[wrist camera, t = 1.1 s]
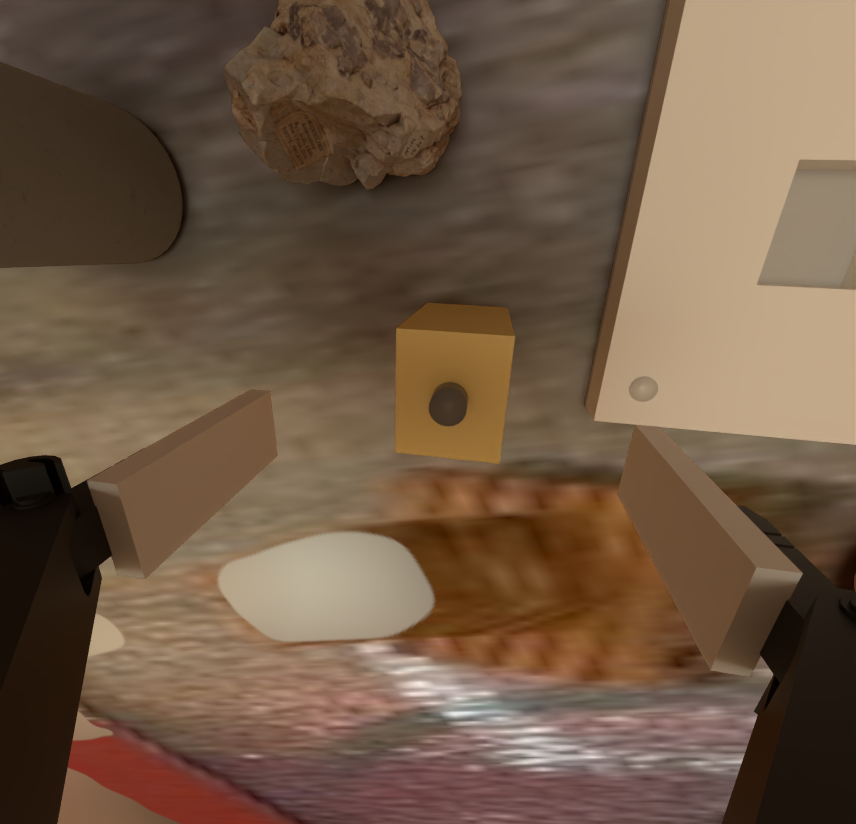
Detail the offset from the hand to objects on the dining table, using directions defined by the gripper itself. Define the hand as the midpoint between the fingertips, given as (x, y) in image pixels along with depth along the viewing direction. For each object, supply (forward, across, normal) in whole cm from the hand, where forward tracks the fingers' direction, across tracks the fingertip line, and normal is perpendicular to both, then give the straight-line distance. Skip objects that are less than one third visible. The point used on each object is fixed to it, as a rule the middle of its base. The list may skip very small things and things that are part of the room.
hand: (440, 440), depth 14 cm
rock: (+16, -6, +14) cm, 22 cm away
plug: (+16, 0, 0) cm, 16 cm away
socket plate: (+16, +19, +8) cm, 26 cm away
